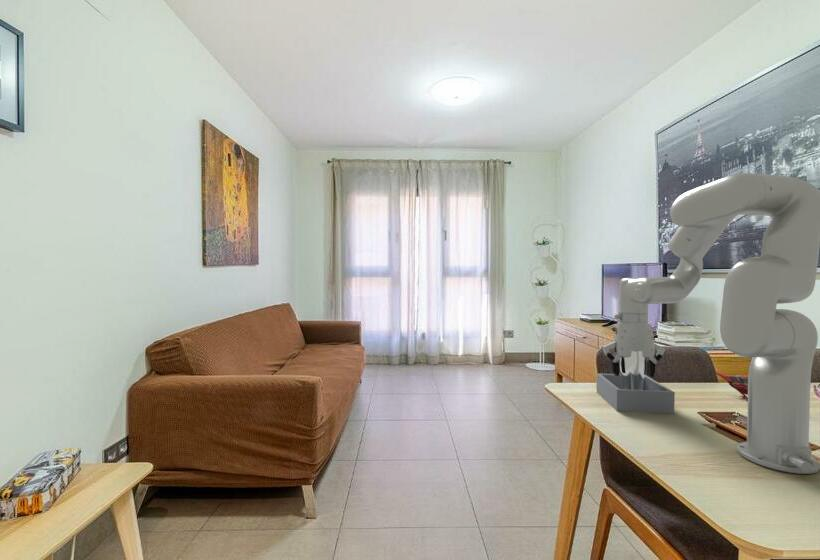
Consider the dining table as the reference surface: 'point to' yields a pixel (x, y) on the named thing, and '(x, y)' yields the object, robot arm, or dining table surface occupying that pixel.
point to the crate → (636, 395)
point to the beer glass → (633, 370)
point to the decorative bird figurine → (737, 383)
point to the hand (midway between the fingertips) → (633, 375)
